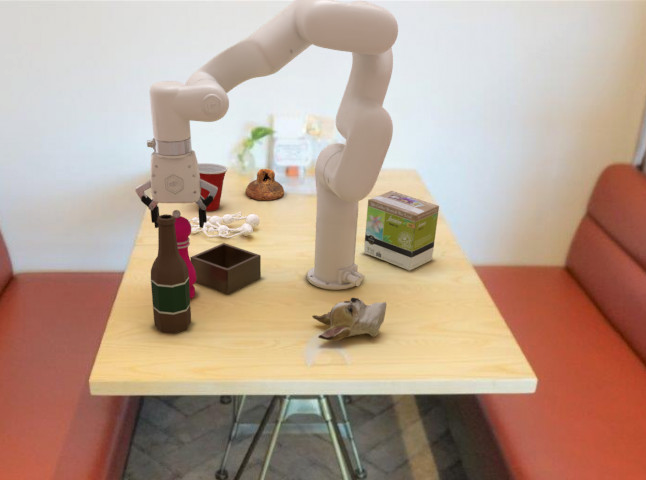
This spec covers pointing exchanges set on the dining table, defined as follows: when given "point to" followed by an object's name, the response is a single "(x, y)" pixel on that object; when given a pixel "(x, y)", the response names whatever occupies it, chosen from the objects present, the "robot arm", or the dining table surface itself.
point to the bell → (265, 186)
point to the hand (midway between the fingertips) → (179, 225)
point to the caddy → (226, 268)
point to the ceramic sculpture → (352, 319)
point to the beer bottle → (170, 281)
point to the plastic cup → (212, 182)
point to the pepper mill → (184, 246)
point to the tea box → (400, 229)
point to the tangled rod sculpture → (223, 230)
